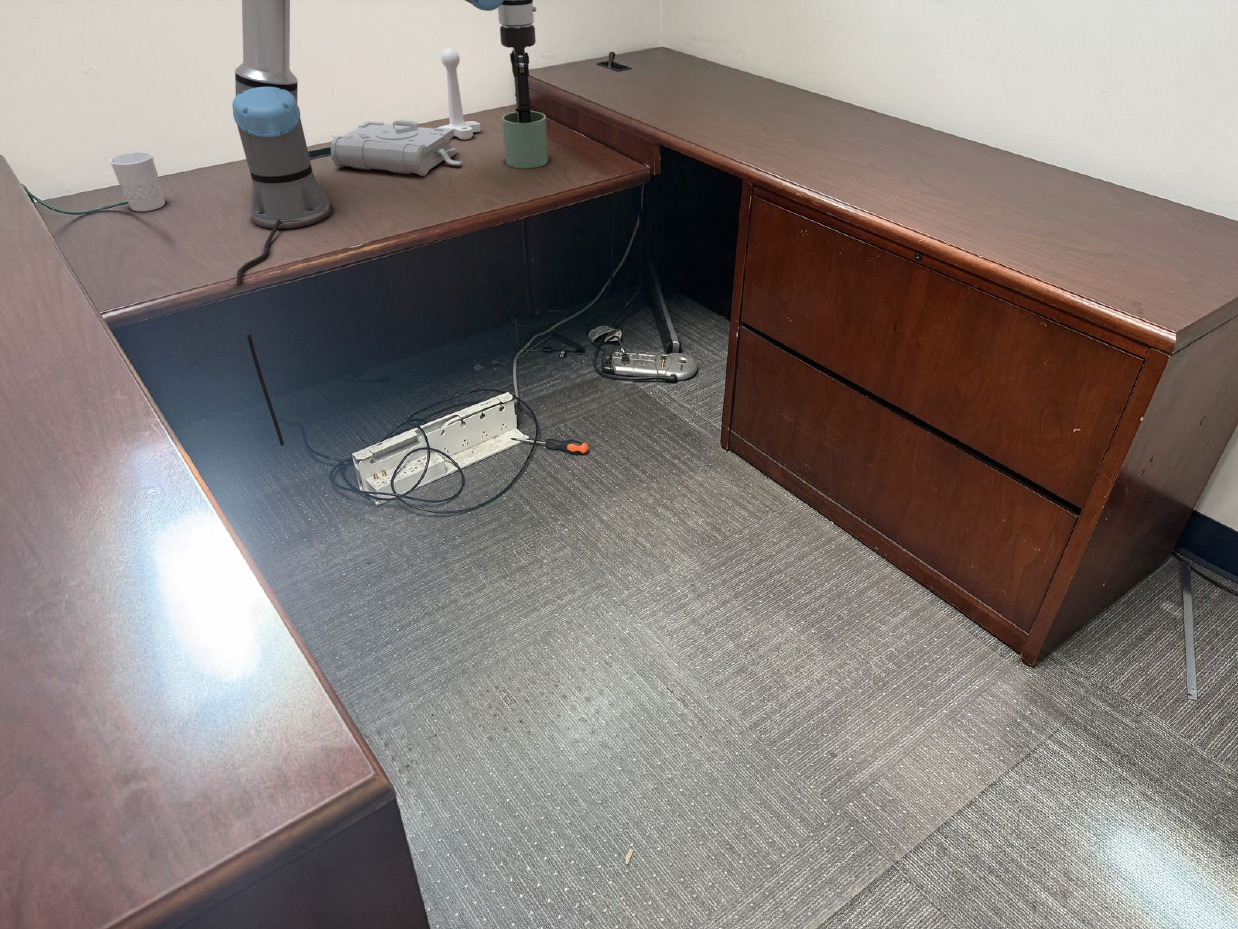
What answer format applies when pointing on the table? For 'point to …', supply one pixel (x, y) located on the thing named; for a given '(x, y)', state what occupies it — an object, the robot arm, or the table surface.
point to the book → (394, 147)
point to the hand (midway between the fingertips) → (525, 136)
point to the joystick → (456, 98)
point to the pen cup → (525, 140)
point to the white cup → (138, 180)
